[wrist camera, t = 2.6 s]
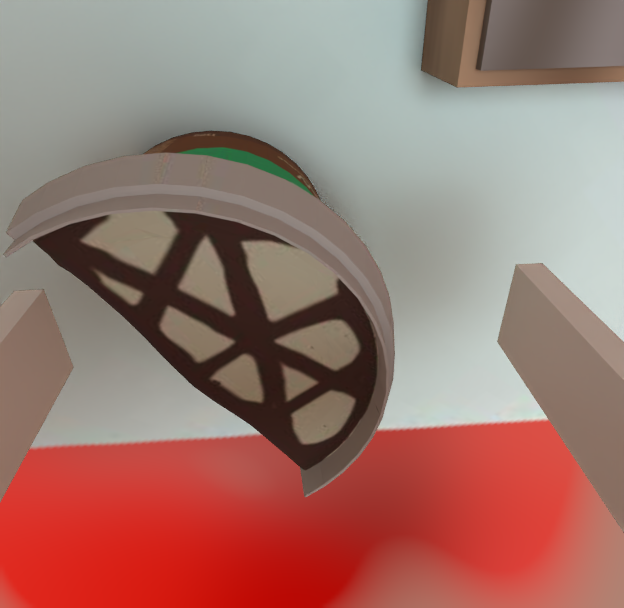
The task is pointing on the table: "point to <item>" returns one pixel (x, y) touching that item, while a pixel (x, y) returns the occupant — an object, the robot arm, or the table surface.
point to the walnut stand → (524, 42)
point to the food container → (233, 285)
